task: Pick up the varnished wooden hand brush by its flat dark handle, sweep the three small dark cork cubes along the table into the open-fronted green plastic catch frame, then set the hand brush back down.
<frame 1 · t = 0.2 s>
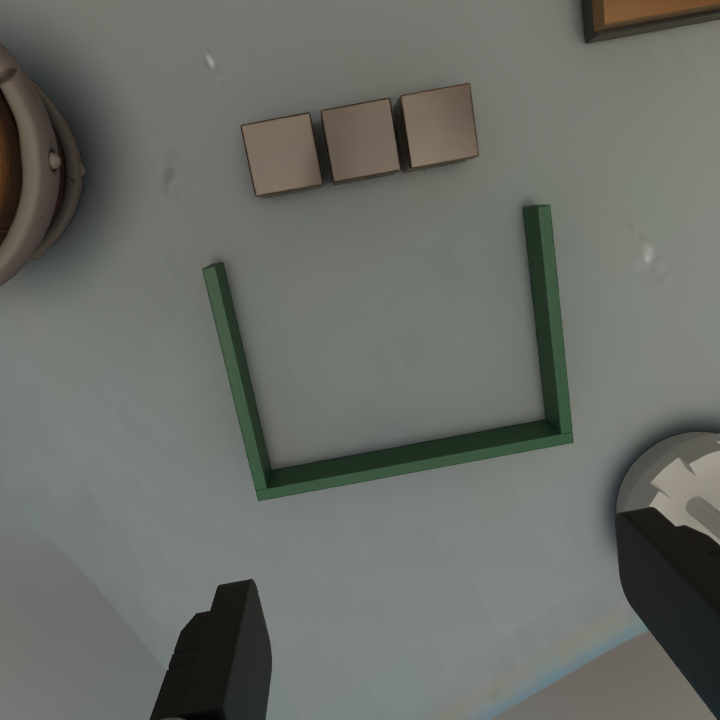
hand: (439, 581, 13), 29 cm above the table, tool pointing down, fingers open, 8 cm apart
cube 2: (358, 147, 39), on the table
cube 3: (429, 134, 39), on the table
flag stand: (686, 499, 46), on the table
catch frame: (391, 344, 42), on the table
cube 1: (287, 160, 39), on the table
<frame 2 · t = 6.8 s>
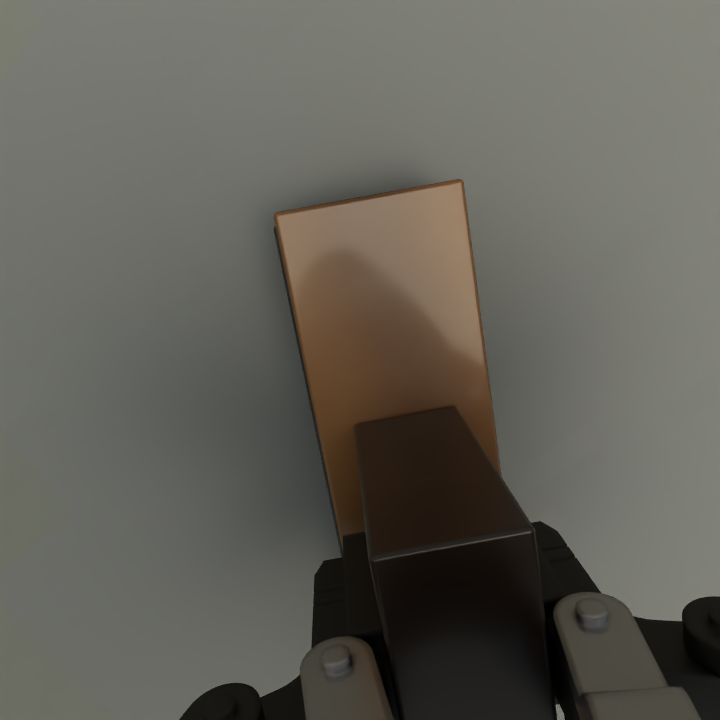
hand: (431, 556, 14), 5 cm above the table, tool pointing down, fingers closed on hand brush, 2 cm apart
hand brush: (406, 466, 19), on the table, touching gripper
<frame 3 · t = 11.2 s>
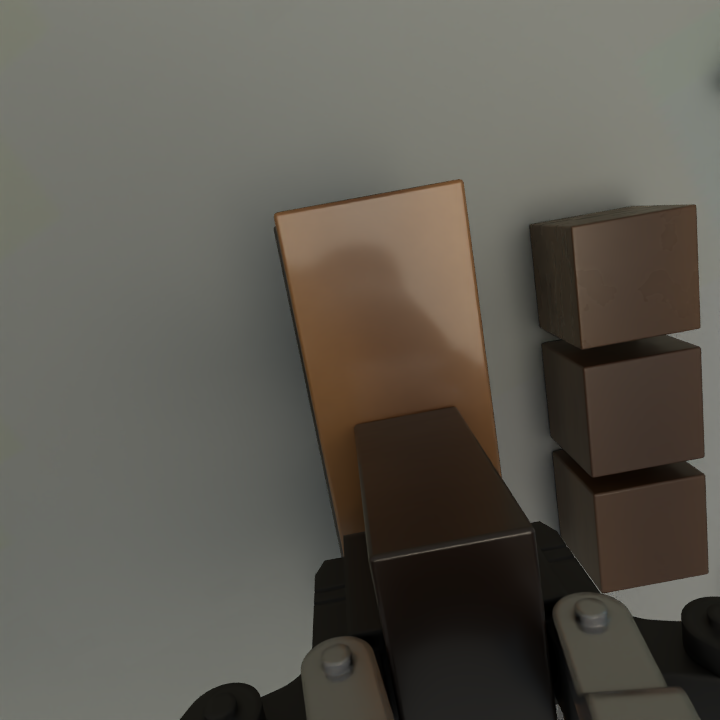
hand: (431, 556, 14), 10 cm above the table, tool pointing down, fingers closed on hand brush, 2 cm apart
hand brush: (406, 466, 19), point 5 cm above the table, touching gripper
cube 2: (594, 382, 24), on the table
cube 3: (585, 268, 23), on the table
cube 1: (602, 486, 25), on the table
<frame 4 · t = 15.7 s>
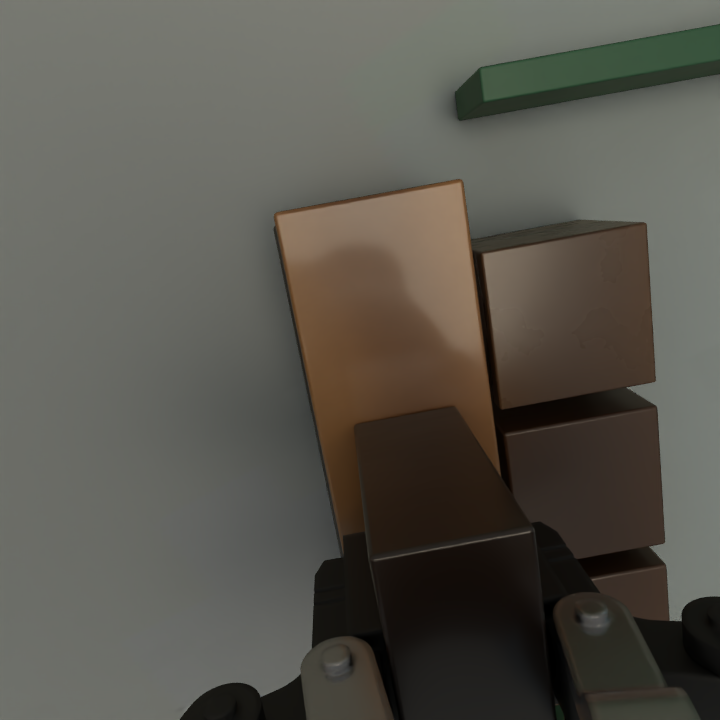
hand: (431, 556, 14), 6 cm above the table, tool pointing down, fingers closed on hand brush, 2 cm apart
hand brush: (406, 466, 19), point 1 cm above the table, touching cube 1, gripper
cube 2: (537, 435, 20), on the table
cube 3: (522, 296, 19), on the table
cube 1: (551, 559, 21), on the table, touching hand brush
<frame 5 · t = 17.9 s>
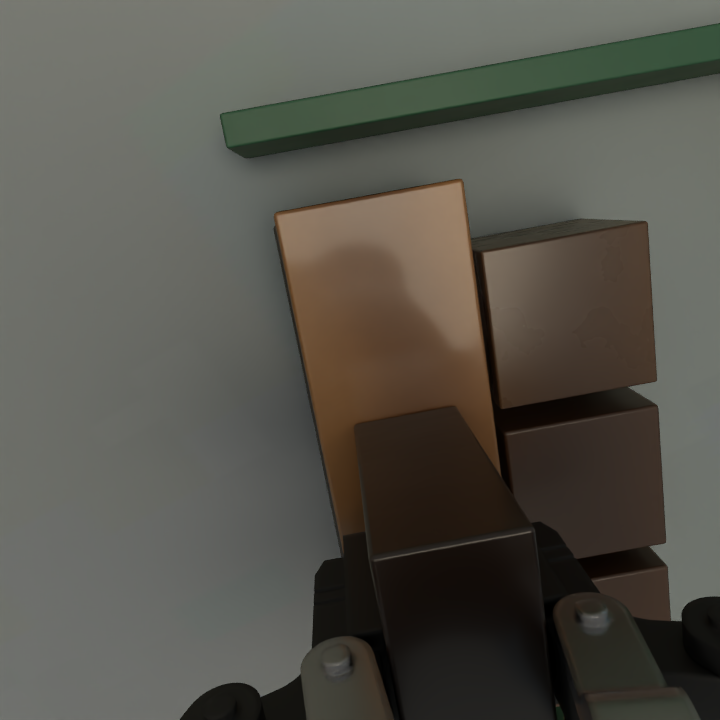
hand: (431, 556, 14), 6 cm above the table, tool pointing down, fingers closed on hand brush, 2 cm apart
hand brush: (406, 466, 19), point 1 cm above the table, touching cube 3, gripper
cube 2: (538, 435, 20), on the table
cube 3: (522, 296, 19), on the table, touching hand brush
catch frame: (539, 436, 20), on the table
cube 1: (552, 560, 21), on the table
when the fingers open (5 cm above the table, at t = 25.7 s): hand brush stays where it is, on the table.
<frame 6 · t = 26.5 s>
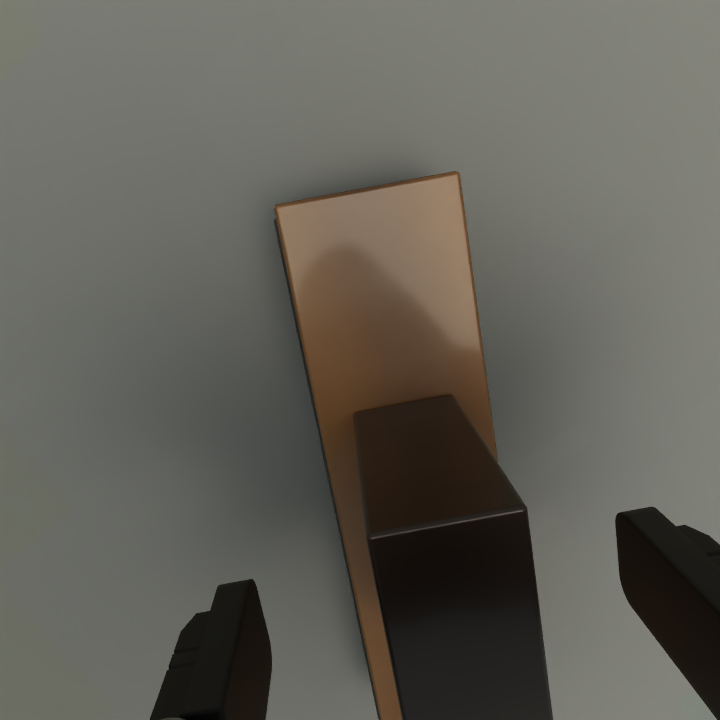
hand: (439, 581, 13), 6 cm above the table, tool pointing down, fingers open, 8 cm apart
hand brush: (405, 456, 19), on the table
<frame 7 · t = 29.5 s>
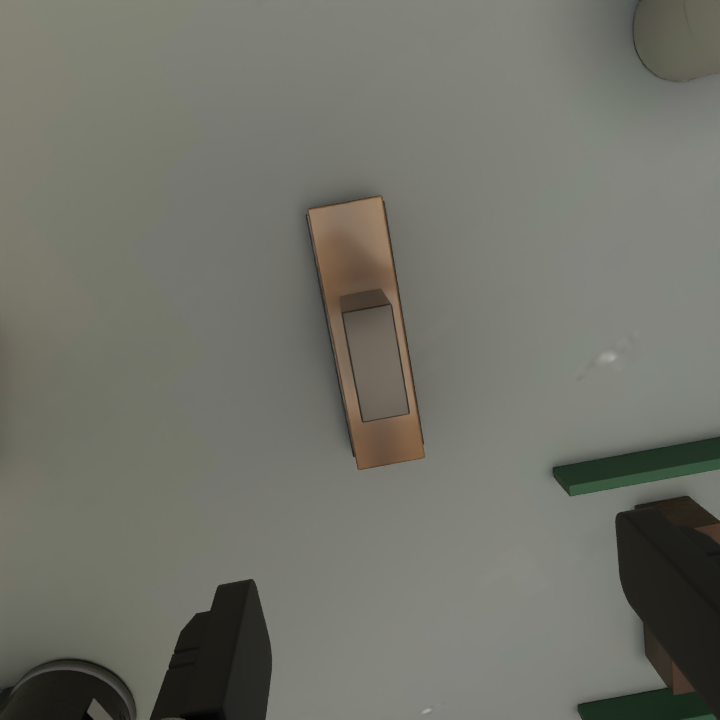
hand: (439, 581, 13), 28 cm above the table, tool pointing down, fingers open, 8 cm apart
hand brush: (366, 329, 40), on the table
cube 3: (663, 524, 45), on the table
glass: (694, 26, 37), on the table
catch frame: (663, 579, 46), on the table
cube 1: (669, 630, 47), on the table
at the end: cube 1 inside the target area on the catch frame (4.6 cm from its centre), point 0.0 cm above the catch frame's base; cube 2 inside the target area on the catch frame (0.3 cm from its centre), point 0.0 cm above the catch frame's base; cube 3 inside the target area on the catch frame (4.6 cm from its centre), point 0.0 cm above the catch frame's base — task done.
